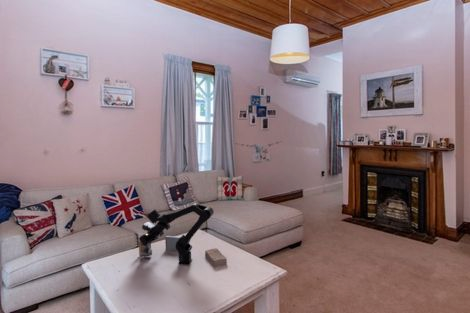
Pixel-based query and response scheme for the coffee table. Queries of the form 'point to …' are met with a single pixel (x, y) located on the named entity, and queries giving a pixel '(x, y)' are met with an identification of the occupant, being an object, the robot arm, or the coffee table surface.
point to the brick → (215, 257)
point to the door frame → (171, 242)
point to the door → (142, 247)
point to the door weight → (146, 251)
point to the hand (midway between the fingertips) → (144, 244)
